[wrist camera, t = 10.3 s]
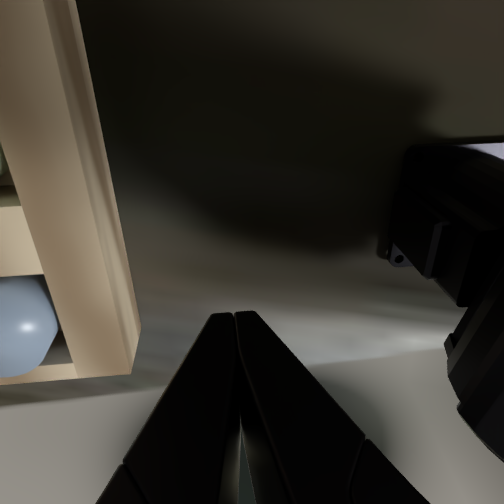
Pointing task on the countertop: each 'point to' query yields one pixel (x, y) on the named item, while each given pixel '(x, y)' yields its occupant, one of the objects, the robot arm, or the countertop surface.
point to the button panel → (61, 193)
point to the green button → (3, 162)
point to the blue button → (25, 323)
